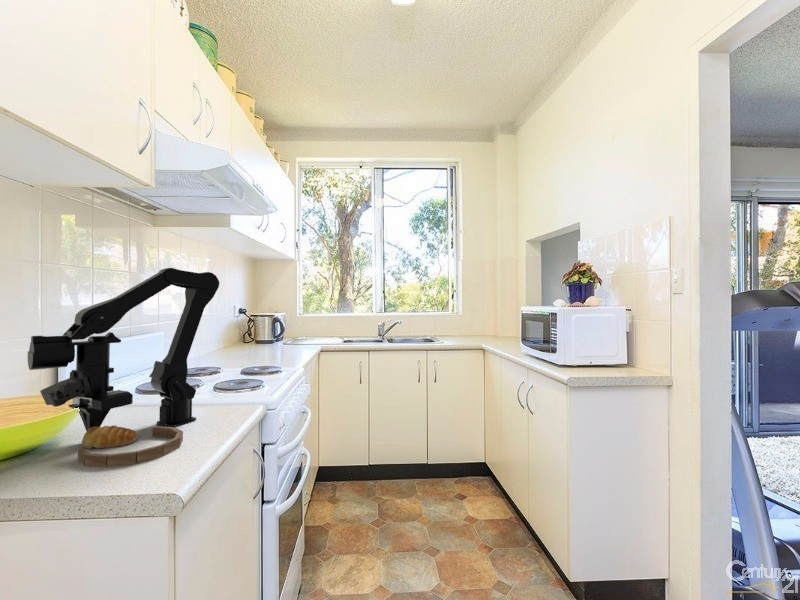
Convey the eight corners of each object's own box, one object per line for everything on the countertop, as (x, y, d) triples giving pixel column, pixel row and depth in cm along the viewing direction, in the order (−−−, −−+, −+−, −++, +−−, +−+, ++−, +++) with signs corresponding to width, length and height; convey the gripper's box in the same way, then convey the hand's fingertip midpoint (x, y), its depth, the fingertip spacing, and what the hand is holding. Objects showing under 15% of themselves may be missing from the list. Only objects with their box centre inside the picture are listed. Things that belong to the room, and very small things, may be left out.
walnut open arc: (160, 433, 89) (160, 424, 89) (202, 441, 84) (202, 432, 84) (70, 462, 73) (70, 451, 73) (115, 473, 68) (115, 462, 68)
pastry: (143, 437, 87) (143, 420, 87) (127, 448, 80) (127, 430, 80) (97, 439, 85) (97, 422, 86) (77, 451, 79) (77, 432, 79)
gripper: (23, 366, 81) (21, 441, 81) (75, 373, 74) (73, 455, 74) (84, 360, 91) (82, 426, 91) (134, 365, 84) (133, 437, 84)
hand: (91, 435), depth 85 cm, fingers closed
